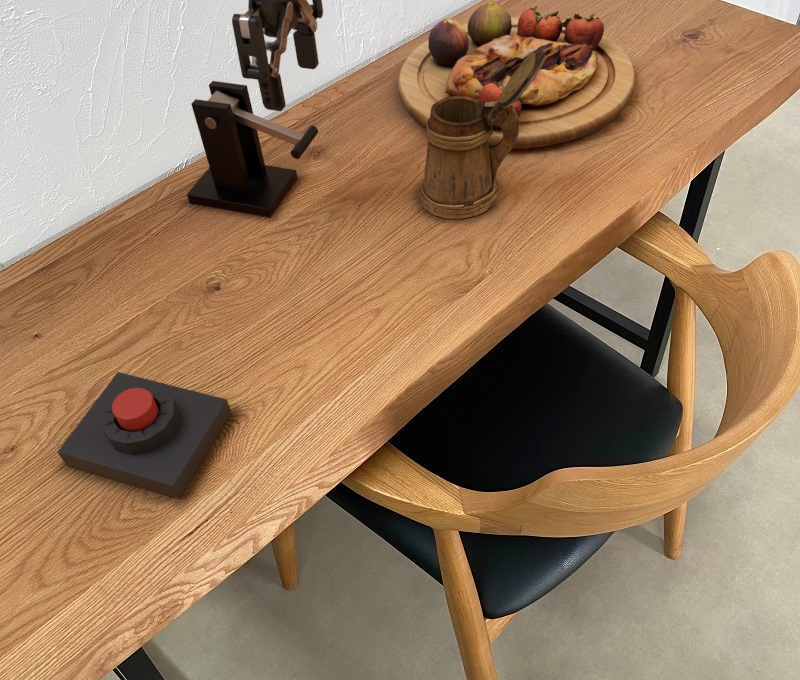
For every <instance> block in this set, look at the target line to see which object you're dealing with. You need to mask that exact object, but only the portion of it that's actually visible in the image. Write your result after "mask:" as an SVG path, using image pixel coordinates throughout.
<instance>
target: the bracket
mask: <svg viewBox="0 0 800 680" xmlns="http://www.w3.org/2000/svg"><path fill="white" fill-rule="evenodd" d="M208 89H209V91H210V95H211V96H212V95H213V94H214V93H215V92H216V91H219V92H221V93H224V94H226V95H229V96H231V97H234V98H236V99H238V100H239V109H241V110H244V111H246V112H249V113H251V114H253V115H254V111H253V106H252V101H251V98H250V93H249V89H248V85H246V84H238V83H232V82H225V81H218V80H212V81H211V82H210V83H209V84H208ZM211 96H210V97H211ZM191 108H192V112H193V115H194V119H195V121H196V125H197V129H198V132H199V136H200V139H201V143H202V146H203V149H204V153H205V156H206V160H207V164H208V166H209V167H208V168H207V169H206V171H204V173H203V174H202V175H201V177H200V178H199V179H198V180H197V181H196V183H195V184H194V185H193V186H192V187H191V189H190V190H189V191H188V193H187V194H186V197H187V199H188V203H189V204H192V205H197V206H204V207H209V208H215V209H220V210H224V211H225V210H227V211H230V212H231V211H232V212H237V213H240V214H241V213H242V214H247V215H251V216H253V215H254V216H258V217H265V218H268V219H269V218H272V216H273V214H274V213H275V211H276V210H277V209H278V207H279V206H280V205H281V203H282V202H283V200H284V199H285V198H286V196H287V195H288V194H289V192H290V191H291V189H292V187H293V186H294V185H295V183H297V181H298V179H299V177H298V173H297V170H296V169H292V168H286V167H280V166H273V165H267V164H266V163H265V160H264V155H263V150H262V145H261V142H260V137H259V133H258V130H256V129H254V128H251V127H249V126H246V125H244V124H241V123H239V122H237V121H235V120H234V116H233V112H232V108H231V104H226V103H219V102H212V101H207V100H205V99H198V98H195V99H194V100H193V101H192V102H191Z"/></svg>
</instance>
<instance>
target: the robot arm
mask: <svg viewBox="0 0 800 680" xmlns="http://www.w3.org/2000/svg"><path fill="white" fill-rule="evenodd" d="M311 1H312V4H311V3H309V1H308V0H248V5H247V8H248V10H247V11H246V12H245V13H233V15H232V18H231V25H232V30H233V34H234V41H235V46H236V51H237V57H238V61H239V67H240V72H241V76H242V78H243V79H246V80H249V79H250V80H256V81H257V82H258V88H259V93H260V97H261V102H262V104H263V105H262V106H263V107H264V109H266V110H269V111H275V112H282V111H283V110H284V109H285V107H286V105H287V103H286V98H285V93H284V88H283V87H284V86H283V83H282V77H281V73H280V67H281V57H282V54H285V52H286V51H287V46H288V36H289V34H290V33H291V31H292V30H293V31H294V32H293V33H292V37H293V43H294V49H295V57H296V62H297V65H298V66H299V67H300V68H301V69H308V70H316V68H318V66H319V64H320V63H319V55H318V48H317V40H316V35H315V34H316V32H317V30H318V21H317V19H322V18H323V16H324V7H323V0H311ZM265 36H266V37H268V38H275V40H273V41H270V40H265V39H266V38H265ZM268 52H270V59H269V58H268Z"/></svg>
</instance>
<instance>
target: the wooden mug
mask: <svg viewBox="0 0 800 680" xmlns="http://www.w3.org/2000/svg"><path fill="white" fill-rule="evenodd" d="M546 57H547V56H546V54H545V52H544V51H537V52H534V53H532V54H530V55H529V56H528V57H527V58H526V59H525V60H524V61H523V62H522V63H521V65H520V66H519V67H518V69H517V70H516V71H515V72H514V74H513V75H512V77H511V78H510V80H509V81H508V83H507V84H506V86H505V88H504V90H503V91H502V93H501V95H500V97H499V99H498V100H497V101H496V102H486V103H483V104H481V102H479V101H478V100H477V99H474V98H471V97H466V96H451V97H446V98H443V99H441V100H439V101H437V102H436V103H434V104H433V105H432V108H431V113H430V118H429V119H428V121H427V127H425V137H426V140H427V147H426V157H425V166H424V173H423V174H424V175H423V178H422V181H421V186H420V192H419V199H420V203H421V205H422V207H423V208H424V209H425V210H426V211H427V212H428V213H430V214H432V215H434V216H435V217H438V218H443V219H448V220H460V219H466V218H471V217H472V218H473V217H476V216H478V215H480V214H483V213H485V212H486V211H488V210H489V209H490V208H491V207H492V206H493V205H494V203H495V201H496V199H497V197H498V196H499V186H498V181H497V180H498V179H497V174H498V169H499V168H500V166H501V164H502V163H503V161H504V160H505V159H506V158H507V156H508V155H509V153H510V152H511V151H512V149H513V148H512V147H513V146H514V144H515V143H516V141H517V138H518V134H519V131H520V129H519V119H518V116H517V113H516V111H515V109H514V107H513V106H512V104H513V103H514V102H516V101H517V99H518V98H519V97H520V96H521V95H522V94H523V93H524V91H525V90H526V89H527V88H528V86H529V85H530V84H531V83H532V81H533V80H534V78H535V77H536V75H537V74H538V72H539V70H540V69H541V67H542V65H543V63H544V61H545V59H546ZM492 125H496V126H499V127H500V128H501V129H502V131H503V138H502V140H501V141H500V142H499V143H497V144H494V145H491V144H489V143H488V139H489V138H490V137H491V135H492V134H493V128H492Z"/></svg>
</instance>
